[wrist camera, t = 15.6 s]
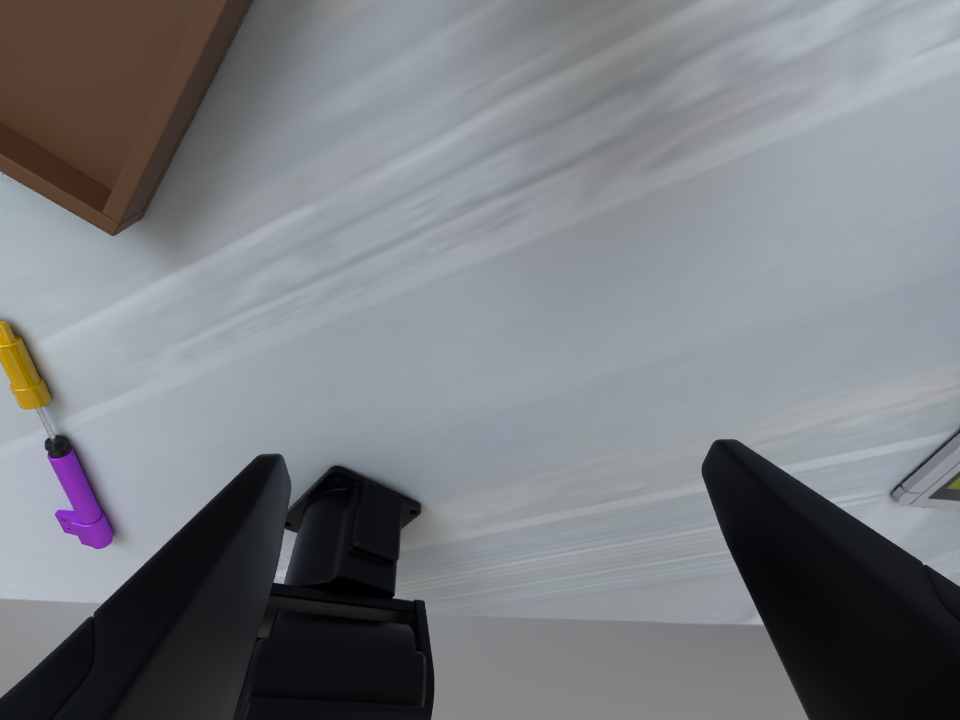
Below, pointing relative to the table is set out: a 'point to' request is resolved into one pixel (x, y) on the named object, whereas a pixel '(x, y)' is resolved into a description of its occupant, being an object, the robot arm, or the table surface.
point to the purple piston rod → (54, 445)
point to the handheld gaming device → (934, 481)
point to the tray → (104, 95)
